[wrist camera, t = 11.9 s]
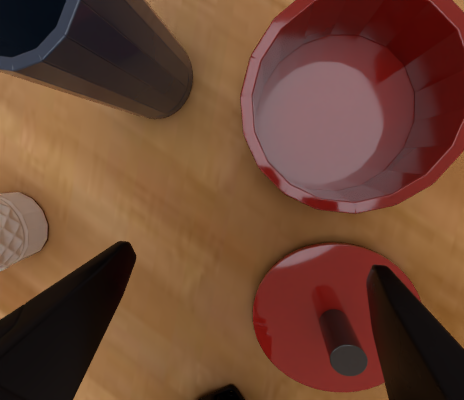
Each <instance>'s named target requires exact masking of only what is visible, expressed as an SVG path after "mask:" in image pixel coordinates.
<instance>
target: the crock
mask: <svg viewBox="0 0 464 400" xmlns="http://www.w3.org/2000/svg"><path fill="white" fill-rule="evenodd" d="M0 72H2V73H5V74H8V75H11V76H14V77H17V78H21V79H24V80H27V81H30V82H33V83H36V84H39V85H43V86H46V87H49V88H52V89H55V90H58V91H61V92H64V93H68V94H71V95H74V96H77V97H80V98H83V99H86V100H90V101H93V102H96V103H99V104H102V105H105V106H108V107H112V108H115V109H118V110H121V111H124V112H127V113H130V114H134V115H137V116H142V117H145V118H149V119H161V118H165V117H168V116H170V115H172V114H174V113H175V112H177V111H178V110H179V109H180V108H181V107H182V106H183V104H184V103H185V101H186V100H187V98H188V96H189V94H190V90H191V87H192V79H193V75H192V66H191V63H190V60H189V57H188V55H187V53H186V52H185V50H184V49H183V47H182V46H181V45H180V44H179V42H178V41H177V39H176V38H175V36H174V35H173V34H172V33H171V31H170V30H169V29H168V28H167V26H166V25H165V24H164V23H163V21H162V20H161V19H160V18H159V16H158V15H157V14H156V13H155V11H154V10H153V9H152V8H151V6H150V5H149V4H148V2H147V1H146V0H0Z"/></svg>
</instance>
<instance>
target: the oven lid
mask: <svg viewBox="0 0 464 400" xmlns="http://www.w3.org/2000/svg"><path fill="white" fill-rule="evenodd" d="M374 264H376V265H385V266H387V267H389V268H390V269H391V270H392V271H393V273H394V274H395V275H396V276H397V277H398V278H399V279H400V280H401V281H402V282H403V283H404V284H405V286H406V287H407V288H408V289H409V290H410V291H411V292H412V293H413V294H414V295H415V296H416V298H417V299H418V300H419V301H420V302H421V300H420V297H419V295H418V292H417V291H416V289H415V287H414V285H413V284H412V282H411V281H410V280H409V278H408V277H407V276H406V274H404V273H403V272H402V271H401V270H400V269H399V268H398V267H397V266H396V265H395V264H394V263H392V262H391V261H390V260H388V259H387V258H386V257H384V256H382V255H380V254H378V253H377V252H375V251H372V250H370V249H367V248H365V247H361V246H357V245H354V244H347V243H333V242H330V243H319V244H314V245H310V246H306V247H303V248H300V249H298V250H296V251H294V252H292V253H290V254H288V255H286V256H285V257H283V258H282V259H280V260H279V261H278V262H277V263H276V264H274V265H273V266H272V267H271V268H270V270H269V271H268V272H267V273H266V274H265V276H264V277H263V279H262V281H261V282H260V284H259V287H258V289H257V291H256V295H255V298H254V305H253V325H254V330H255V334H256V337H257V339H258V342H259V344H260V346H261V348H262V349H263V351H264V353H265V354H266V356H267V357H268V358H269V359H270V361H271V362H272V363H273V364H274V365H275V366H276V367H277V368H278V369H279V370H280V371H282V372H283V373H284V374H286V375H287V376H289V377H290V378H292V379H294V380H295V381H297V382H299V383H301V384H304V385H306V386H309V387H312V388H315V389H319V390H323V391H330V392H355V391H361V390H366V389H369V388H372V387H375V386H378V385H380V384H382V383H384V382H385V381H384V377H383V373H382V369H381V365H380V361H379V357H378V353H377V349H376V345H375V341H374V337H373V332H372V326H371V319H370V311H369V303H368V295H367V288H366V280H367V277H368V274H369V272H370V269H371V267H372V265H374Z"/></svg>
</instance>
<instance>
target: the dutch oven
mask: <svg viewBox="0 0 464 400" xmlns="http://www.w3.org/2000/svg"><path fill="white" fill-rule="evenodd" d="M240 101H241V114H242V126H243V134H244V137H245V140H246V142H247V144H248V146H249V149H250V151H251V153H252V155H253V157H254V160H255V162H256V164H257V166H258V167H259V169H260V170H261V171H262V172H263V173H264V174H265V175H266V176H267V177H268V178H269V179H270V180H271V181H272V182H273V184H274V185H275V186H276V187H277V188H278V189H279V190H280V191H281V192H282V193H284V194H285V195H287V196H289V197H291V198H293V199H296V200H298V201H300V202H302V203H304V204H306V205H308V206H310V207H312V208H314V209H317V210H325V211H334V212H343V213H352V214H357V213H362V212H366V211H371V210H376V209H381V208H385V207H390V206H394V205H397V204H399V203H401V202H402V201H404V200H406V199H408V198H409V197H411V196H413V195H415V194H416V193H418V192H420V191H422V190H423V189H425V188H427V187H429V186H431V185H432V184H433V183H435V181H436V180H437V179H438V178H439V177H440V176H441V175H442V174H443V173H444V172H445V171H446V170H447V169H448V167H449V166H450V165H451V164H452V163H453V162H454V161H455V160H456V159H457V158H458V157H459V156H460V154H461V153H462V152H463V151H464V12H463V11H462V10H461V9H460V8H459V7H458V6H457V5H456V4H455V3H454V1H453V0H295V1H294V2H293V3H292V4H291V5H289V6H288V7H287V8H286V9H285V10H283V11H282V12H281V13H280V14H279V15H278V16H276V17H275V18H274V20H273V21H272V22H271V24H270V26H269V27H268V29H267V30H266V32H265V33H264V35H263V37H262V38H261V40H260V41H259V43H258V45H257V46H256V48H255V49H254V51H253V53H252V54H251V57H250V59H249V63H248V67H247V71H246V75H245V79H244V83H243V87H242V91H241V96H240Z"/></svg>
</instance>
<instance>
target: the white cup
mask: <svg viewBox="0 0 464 400" xmlns="http://www.w3.org/2000/svg"><path fill="white" fill-rule="evenodd" d="M47 232H48V224H47V221H46V218H45V216H44V213H43V210H42V209H41V208H40V207H39V206H38V205H37V203H36V202H35V201H34V200H33V199H32V198H30V197H28V196H26V195H24V194H22V193H20V192H3V193H0V271H2V270H4V269H6V268H9V267H10V266H11V265H12V264H14V263H16V262H19V261H21V260H23V259H25V258H28V257H30V256H32V255H33V254H35V253H37V252H39V251H40V250H41V249H42V247H43V245H44V244H45V242H46V240H47Z"/></svg>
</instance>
